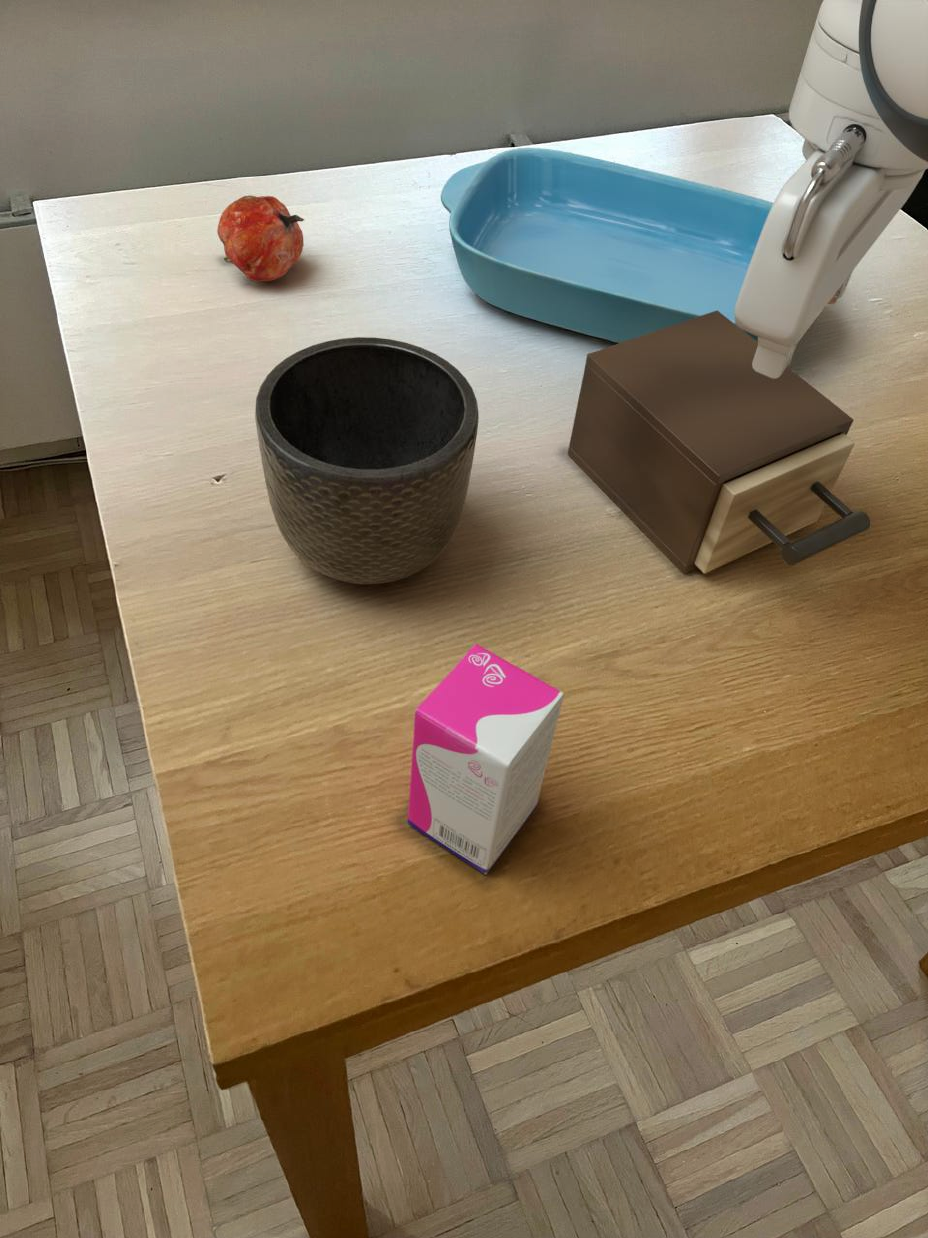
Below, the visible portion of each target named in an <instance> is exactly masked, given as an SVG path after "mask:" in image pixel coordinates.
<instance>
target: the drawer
mask: <svg viewBox="0 0 928 1238" xmlns="http://www.w3.org/2000/svg"><path fill="white" fill-rule="evenodd" d="M814 444H815V443H814ZM814 444H812V445H809V446H807V447H805V448H802V449H800V450H798V451H795V452H793V453H791V454H788V455H786V456H784V457H781V458H779V459H777V460H774V461H772V462H769V463H767V464H765V465H762V466H760V467H758V468H755V469H753V470H751V471H748V472H746V473H744V474H741V475H739V476H737V477H734V478H732V479H730V480H727V481H725V482H724V484H723V486H722V489H721V491H720V494H719V497H718V499H717V502H716V505H715V508H714V510H713V513H712V516H711V519H710V521H709V524H708V527H707V529H706V532H705V535H704V538H703V540H702V543H701V546H700V549H699V551H698V554H697V557H696V559H695V562H694V564H695V565H696V566H697V567H698V568H697V569H699V571H701V572H702V573H703V574H705V575H706V574H707V573H710V572H712V571H714V570H716V569H718V568H720V567H722V566H724V565H727V564H729V563H730V562H733V561H735V560H737V559H739V558H741V557H744V556H746V555H748V554H750V553H752V552H754V551H756V550H758V549H761V548H763V547H765V546H767V545H770V544H771V543H774V544H775V545H776V546H777V547H778V548H779V549H780V556H781V559H782V561H783V562H784V563H785V564H786V565H788V566H791V567H793V566H797V565H799V564H801V563H802V562H805V561H806V560H809V559H811V558H813V557H815V556H818V555H819V554H821V553H823V552H826V551H827V550H830V549H832V548H833V547H835V546H838V545H840V544H842V543H843V542H846V541H849V540H850V539H852V538H854V537H856V536H858V535H861V534H863V533H865V532H867V531H868V530H869V529H870V527H871V525H872V523H871V522H872V521H871V518H870V516H869V515H868V513H867V512H866V511H864V510H861V509H860V510H856V511H853V510H852V509H851V508H850V507H849V506H848V505H846V504H845V503H844V502H843V501H842V500H841V499H839V498H838V497H837V495H835V494H834V493H832V492H833V490H834V488H835V486H836V483H837V481H838V479H839V477H840V475H841V473H842V472H843V469H844V467H845V464H846V463H847V460H848V458H849V457H850V455H851V452H852V450H853V448H854V446H855V444H856V442H855V440H853V439H852V438H851V437H850V436H848V434H847V435H846V434H844V433H842V434H839V435H837V436H835V437H832V438H830V439H828V440H825V441H823V442H821V443H818V444H816V445H814ZM826 505H827V506H828V508H830V509H831V510H833V511H834V512H835V513H836V514H837V515H838V516H840V517H841V518H838V519H836V520H835V521H832V522H830V523H828V524H826V525H824V526H822V527H820V528H818V529H816V530H813V531H811V532H810V533H807V534H805V535H803V536H801V537H798V538H797V539H795V540H792V541H791V539H789V538H788V537H787V536H789V535H791V534H792V533H795V532H797V531H799V530H801V529H803V528H805V527H807V526H810V525H812V524H814V523H816V522H818V521H819V519H820V516H821V514H822V513H823V510H824V508H825V507H826Z"/></svg>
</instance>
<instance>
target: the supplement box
mask: <svg viewBox="0 0 928 1238" xmlns="http://www.w3.org/2000/svg"><path fill="white" fill-rule="evenodd" d="M564 697H565V693H564V692H562V691H561V690H559V689H557V688H556V687H554V686H552V685H551V684H548V683H547V682H545V681H543V680H542V679H540V678H538V677H536V676H534V675H533V674H531V673H529V672H527V671H525V670H524V669H522V668H520V667H518V666H516V665H515V664H513V663H511V662H509V661H508V660H506V659H505V658H502V657H501V656H499V655H497V654H495V653H494V652H492V651H490V650H489V649H486V648H485V647H483V646H481V645H479V644H478V643H475V644H474V645H473V646H472V647H471V648H470V649H469V650H468V651H467V652H466V654H465V655H464V656H463V657H462V658H461V659H460V660H459V661H458V663H457V664H456V665H455V666H454V667H453V668H452V670H451V671H450V672H449V673H448V674H447V675H446V676H445V677H444V678H443V679H442V680H441V681H440V682H439V684H437V686H436V687H435V688H434V689H433V690H432V691H431V692H430V693H429V694H428V696H426V698H425V699H423V701H422V702H421V703H420V704H419V705H417V707H416V708H415V710H414V722H413V738H412V739H413V741H412V751H411V764H410V765H411V767H410V781H409V798H408V807H407V808H408V810H407V824H408V826H410V827H411V828H412V829H414V830H416V831H417V832H419V833H420V834H422V835H423V836H425V837H426V838H428V839H429V840H431V841H432V842H434V843H436V844H437V845H439V846H440V847H442V849H444V850H446V851H448V852H449V853H451V854H452V855H454V856H456V857H457V858H458V859H460V860H461V861H463V862H465V863H466V864H468V865H469V866H471V867H473V868H474V869H476V870H477V871H478V872H479V873H481V874H483V875H485V876H486V875H488V873H489V872H490V870H491V869H492V868H493V867H494V866H495V864H496V862H497V861H498V860H499V858H500V857H501V856H502V854H503V853H504V852H505V851H506V849H507V848H508V846H509V845H510V843H511V842H512V841H513V840H514V838H515V837H516V835H517V834H518V833H519V832H520V830H521V829H522V828H523V826H524V825H525V823H526V822H527V821H528V819H529V818H530V817H531V815H532V814H533V813H534V811H535V810H536V808H537V807H538V802H539V798H540V795H541V789H542V785H543V781H544V777H545V773H546V770H547V765H548V761H549V758H550V752H551V750H552V746H553V741H554V738H555V733H556V730H557V729H556V728H557V725H558V721H559V718H560V714H561V709H562V705H563V701H564Z"/></svg>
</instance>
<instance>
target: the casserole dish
mask: <svg viewBox="0 0 928 1238" xmlns="http://www.w3.org/2000/svg"><path fill="white" fill-rule="evenodd" d="M440 201H441V204H442V206H443V208H445V210H446V211H447V212H448V214H450V215H449V219H448V227H449V228H448V229H449V234H450V237H451V243H452V248H453V251H454V253H455V257H456V258H455V259H456V261H457V265H458V268H459V271H460V274H461V275H462V278H463V280H464V282H465V284H466V285H467V287H469V289H470V290H472V292H473V293H474V294H476V296H478V297H479V298H481V299H482V300H483V301H484V302H487V303H488V304H490V305H491V306H494V307H497V308H499V309H501V310H504V311H506V312H508V313H512V314H514V315H517V316H521V317H524V318H526V319H531V320H533V321H534V320H535V321H537V322H540V323H544V324H546V325H550V326H555V327H557V328H561V329H565V330H568V331H572V332H576V333H579V334H583V335H586V336H589V337H590V336H591V337H594V338H598V339H603V340H607V341H610V342H612V343H616V344H619V343H622V342H625V341H628V340H631V339H634V338H637V337H640V336H643V335H646V334H649V333H651V332H654V331H657V330H660V329H663V328H666V327H669V326H672V325H675V324H678V323H681V322H684V321H687V320H690V319H693V318H696V317H699V316H702V315H705V314H708V313H711V312H713V311H716V310H718V311H719V312H720V313H721V314H723V315H724V316H725V317H726V318H728V319H729V320H730V321H731V322H733V323H734V324H735V325H736V323H735V316H734V312H735V306H736V302H737V299H738V296H739V293H740V290H741V287H742V284H743V282H744V279H745V276H746V273H747V270H748V267H749V265H750V262H751V259H752V256H753V254H754V251H755V248H756V245H757V242H758V240H759V237H760V234H761V232H762V229H763V227H764V224H765V221H766V219H767V217H768V214H769V212H770V210H771V208H772V205H773V203H774V202H772V201H768V200H765V199H762V198H758V197H755V196H752V195H748V194H744V193H741V192H737V191H732V190H728V189H724V188H720V187H717V186H714V185H713V186H712V185H708V184H705V183H700V182H697V181H692V180H688V179H685V178H679V177H676V176H672V175H667V174H663V173H659V172H655V171H651V170H647V169H642V168H639V167H635V166H631V165H625V164H622V163H618V162H614V161H609V160H604V159H601V158H596V157H592V156H588V155H582V154H578V153H573V152H569V151H564V150H563V151H562V150H558V149H557V150H556V149H551V148H542V147H541V148H539V147H519V148H512V149H509V150H504V151H502V152H499V153H497V154H496V155H493V156H492V157H490V158H489V159H487V160H485V161H482V162H479V163H475V164H472V165H470V166H467V167H464V168H461V169H459V170H458V171H456V172H455V173H453V174H452V175H451V176H450V177H449V178H448V179H447V181H446V182H445V184H444V185H443V187H442V190H441V193H440ZM843 295H844V293H843V294H842V295H841V296H840V298H839V299H838V300H840V299H841V298H842V297H843ZM826 306H829V304H827V305H826ZM736 326H737V325H736ZM741 330H742V329H741ZM743 331H744V330H743ZM744 332H745V333H746V334H748V335H749V336H750V337H751V338H753V339H754V340H755V341H756V342H758V336H756V335H753V334H751V333H749V332H746V331H744Z"/></svg>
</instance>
